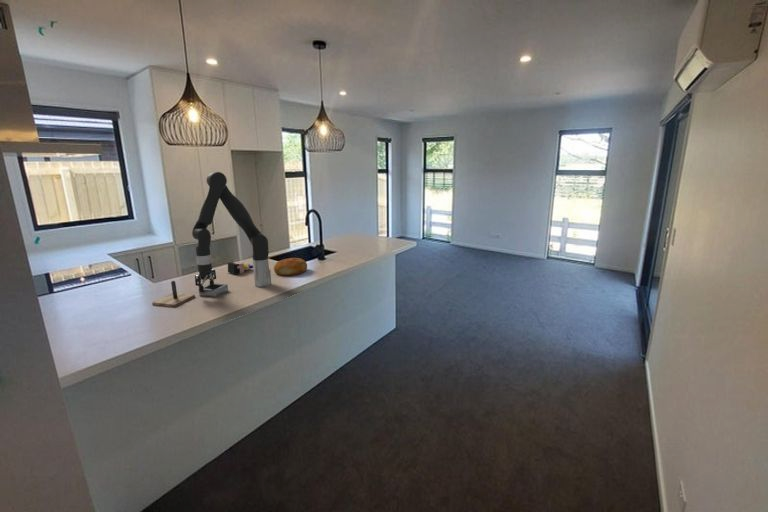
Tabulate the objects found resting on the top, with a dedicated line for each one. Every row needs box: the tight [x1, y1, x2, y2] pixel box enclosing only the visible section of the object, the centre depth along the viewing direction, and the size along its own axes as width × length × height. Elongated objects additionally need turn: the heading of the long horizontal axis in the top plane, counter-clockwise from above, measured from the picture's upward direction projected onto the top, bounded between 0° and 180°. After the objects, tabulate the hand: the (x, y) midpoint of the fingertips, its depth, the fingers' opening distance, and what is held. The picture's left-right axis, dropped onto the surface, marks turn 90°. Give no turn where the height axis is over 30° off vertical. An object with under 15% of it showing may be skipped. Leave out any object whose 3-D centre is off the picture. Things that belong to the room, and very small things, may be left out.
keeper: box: [151, 280, 196, 308], centre depth 190 cm, size 14×15×12 cm
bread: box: [273, 257, 308, 276], centre depth 246 cm, size 23×23×10 cm
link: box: [198, 282, 229, 298], centre depth 204 cm, size 11×11×4 cm
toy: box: [227, 261, 253, 275], centre depth 245 cm, size 12×7×15 cm
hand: (207, 289), depth 199 cm, fingers open, 8 cm apart
